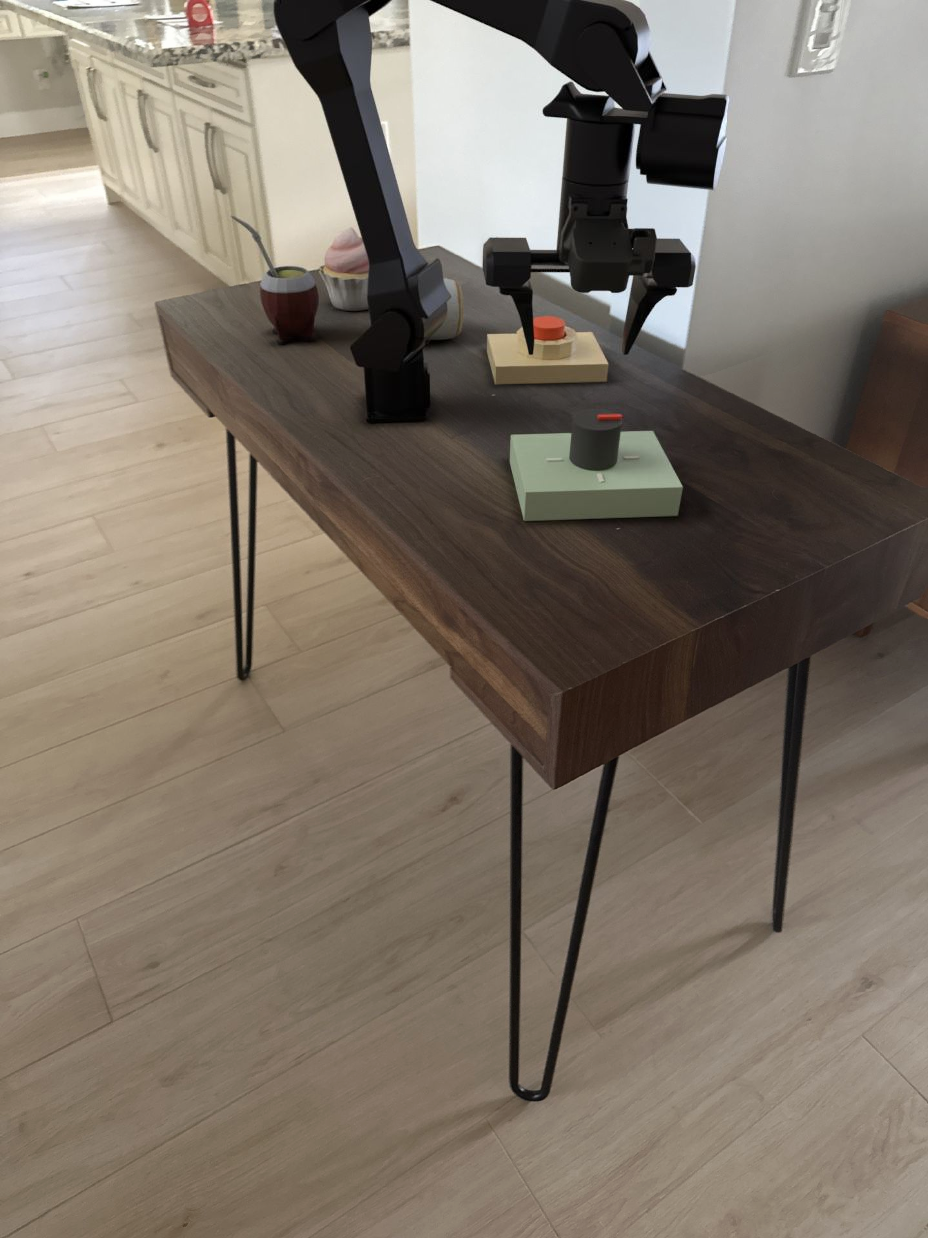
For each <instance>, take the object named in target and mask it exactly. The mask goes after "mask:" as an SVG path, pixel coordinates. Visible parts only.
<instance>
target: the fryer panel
mask: <svg viewBox="0 0 928 1238" xmlns="http://www.w3.org/2000/svg"><path fill="white" fill-rule="evenodd" d="M509 442H510V444H509V445H510V447H509V465H510V470H511V473H512V474H511V475H512V478H513V481H514V486H515V490H516V494H517V498H518V502H519V507H520V510H521V514H522V519H523V521H524V522H537V521H538V522H539V521H567V520H595V519H596V520H597V519H599V520H600V519H624V518H653V517H654V518H656V517H678V516H679V511H680V505H681V500H682V494H683V489H684V486H683V484H682V483H681V481H680V479H679V477H678V475H677V473H676V472H675V469H674V467H673V466H672V464H671V462H670V460H669V458H668V456H667V454H666V453H665V451H664V449H663V447H662V445H661V443H660V441H659V440H658V437H657V435H656V434H655V431H654V430H633V431H632V430H631V431H630V430H629V431H621V434H620V442H619V450H618V458H617V462H616V464H615V465H614V466H613V467H611V468H608V469H605V470H587V469H583V468H580V467H578V466H576V465H574V464H573V463H572V462H571V461H570V459H569V454H570V443H571V432H562V433H561V432H560V433H557V432H556V433H526V434H525V433H523V434H522V433H521V434H510V441H509Z"/></svg>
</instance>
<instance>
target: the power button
mask: <svg viewBox="0 0 928 1238" xmlns="http://www.w3.org/2000/svg"><path fill="white" fill-rule="evenodd" d="M533 324H534V339H537V340H542V341H557V340H560V339H563V338H564V329H565V326H566V322H565V321H564V319H562V318H560V317H557V316H551V315H542V316H537V317H533Z"/></svg>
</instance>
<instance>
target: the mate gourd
mask: <svg viewBox="0 0 928 1238" xmlns="http://www.w3.org/2000/svg"><path fill="white" fill-rule="evenodd" d="M230 218H231V219H233V220H234V221H235V222H237V223H238V224H240V225H241V226H243V227H244V228H245V229H246V230H247V231H248V232H249V233H250V234H251V237H252V238H253V241H254V242H255V243H256V244H257V246H258V248H259V250H260V252H261V254H262V257H263V259H264V261H265V263H266V265H267V267H268V270H267V271H266V272H265V273H264V275H263V277H262V279H261V281H260V288H259V296H260V300H261V305H262V308H263V311H264V313H265V315H266V318H267V319H268V320H269V322H270V324H271V325H272V326H273V328H271V331H272V334H274V335H277V336H278V339H276V343H277V345H280V346H283V345H285V344H287V343H289V342H291V341H293V340H296V339H297V340H301V341H306V342H315V341H316V336H315V335H314V334H313V333H314V328H315V319H316V318H315V317H316V315H317V312H318V308H319V303H320V302H319V298H320V296H319V291H318V287H317V284H316V281H315V278H314V277H313V276H312V274H311V272H310V271H309V270H308V269H306V268H304V267H303V266H302V267H301V266H297V265H283V266H282V265H281V266H276V267H274V265H273V262H272V261H271V258H270V257H269V255H268V252H267V250H266V247H265V246H264V244H263V242H262V237H261V236H260V234H259V232H258V231H256V230H255V228H254V227H253V226H251V225H250V224H249V223H248V222H246V221H244V220H242V219H240V218H238V217H236V216H234V215H233V214H231V215H230Z"/></svg>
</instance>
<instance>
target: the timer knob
mask: <svg viewBox="0 0 928 1238" xmlns="http://www.w3.org/2000/svg"><path fill="white" fill-rule="evenodd" d="M571 422H572V423H571V432H570V433H571V443H570V454H569V459H570V461H571V462H572V463H573V464H574V465H576V466H578V467H580V468H583V469H587V470H605V469H608V468H611V467H613V466H614V465H615V464H616V462H617V458H618V450H619V442H620V434H621V432H622V425H623V416H622V414H621V413H615V412H614V411H611V410H607V409H603V408H585V409H582V410H578V411H576V412H575V413H574V414H573V416H572V421H571Z"/></svg>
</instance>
